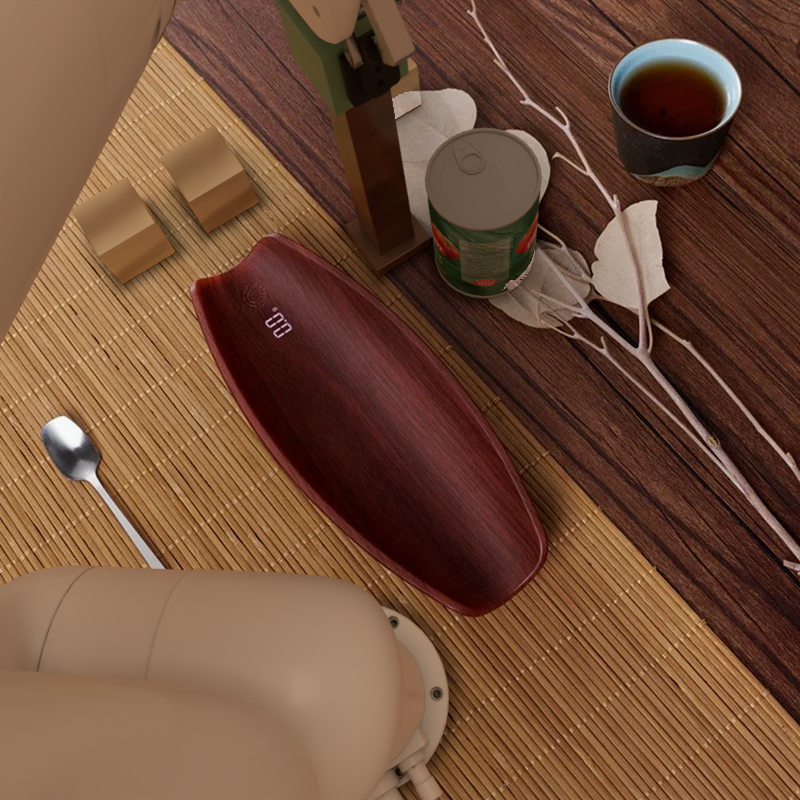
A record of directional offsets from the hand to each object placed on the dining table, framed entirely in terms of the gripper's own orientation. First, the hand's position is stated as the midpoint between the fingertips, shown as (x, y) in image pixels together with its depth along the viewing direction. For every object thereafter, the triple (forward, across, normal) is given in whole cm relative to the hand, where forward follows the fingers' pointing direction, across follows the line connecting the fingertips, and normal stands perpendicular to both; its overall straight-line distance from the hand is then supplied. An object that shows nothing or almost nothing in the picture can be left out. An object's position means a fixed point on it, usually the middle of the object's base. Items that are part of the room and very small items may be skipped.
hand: (348, 56), depth 53 cm
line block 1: (+22, -12, -18) cm, 30 cm away
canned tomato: (+22, +6, +6) cm, 23 cm away
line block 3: (+22, -12, +6) cm, 26 cm away
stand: (+22, 0, 0) cm, 22 cm away
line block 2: (+22, -12, -10) cm, 27 cm away
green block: (+1, 0, 0) cm, 1 cm away
